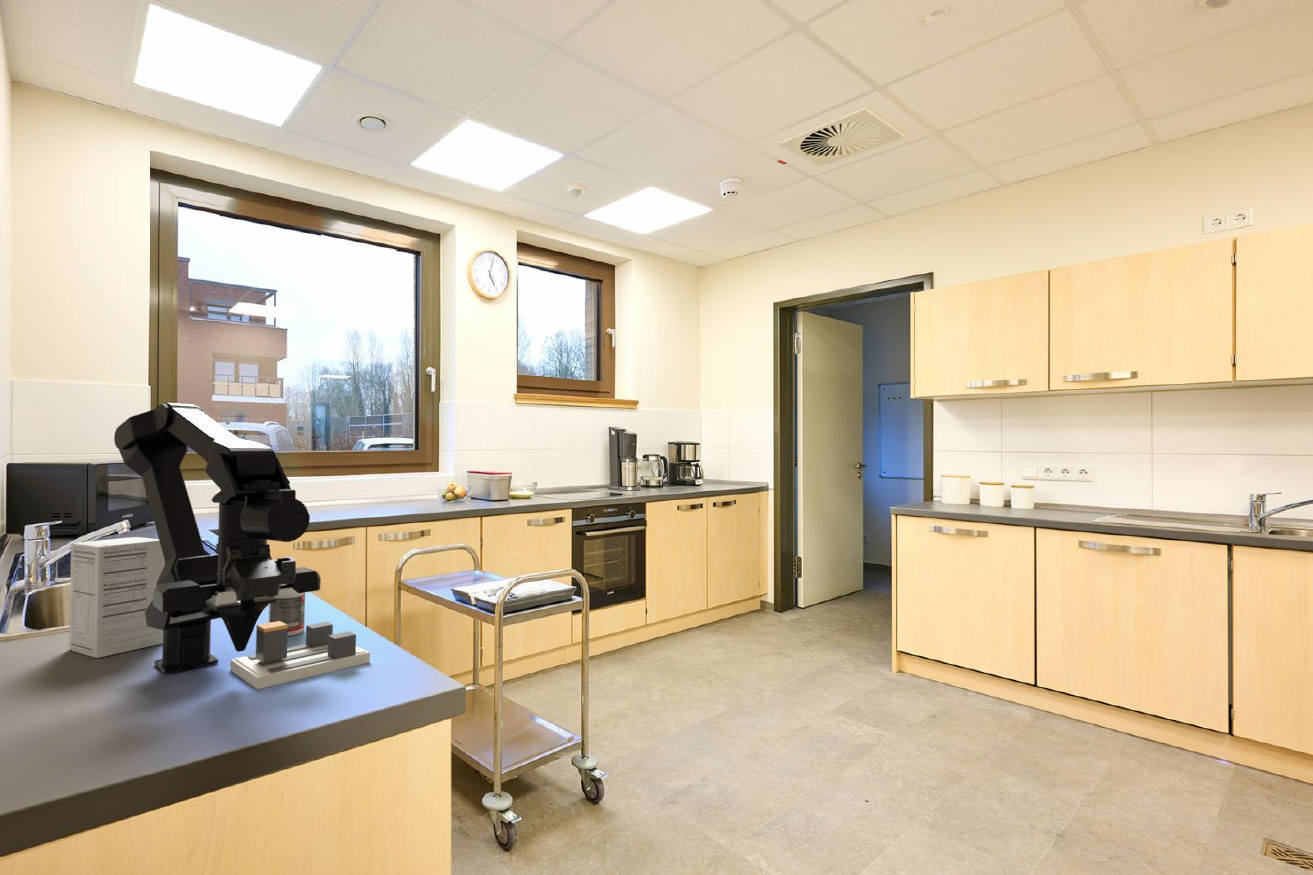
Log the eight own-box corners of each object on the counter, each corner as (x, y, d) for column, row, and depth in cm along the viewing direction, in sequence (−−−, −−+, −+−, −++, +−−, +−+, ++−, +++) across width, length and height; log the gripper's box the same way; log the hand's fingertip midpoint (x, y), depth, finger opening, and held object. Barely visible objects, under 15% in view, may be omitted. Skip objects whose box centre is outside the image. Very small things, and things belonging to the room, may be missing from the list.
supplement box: (166, 643, 105) (168, 539, 106) (96, 659, 97) (99, 546, 98) (135, 635, 110) (138, 535, 110) (66, 650, 102) (69, 541, 102)
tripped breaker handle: (255, 658, 92) (256, 624, 92) (278, 653, 94) (279, 620, 94) (263, 663, 90) (264, 628, 90) (286, 658, 92) (287, 624, 92)
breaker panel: (230, 670, 93) (231, 638, 93) (337, 647, 105) (338, 619, 105) (257, 689, 86) (258, 654, 86) (369, 662, 97) (370, 632, 97)
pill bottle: (309, 633, 112) (310, 576, 113) (274, 639, 108) (276, 580, 109) (297, 627, 116) (298, 572, 116) (263, 633, 112) (265, 576, 112)
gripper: (175, 550, 77) (172, 682, 77) (337, 536, 91) (335, 648, 91) (153, 541, 85) (150, 661, 84) (306, 529, 99) (304, 632, 98)
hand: (240, 650), depth 89 cm, fingers closed
